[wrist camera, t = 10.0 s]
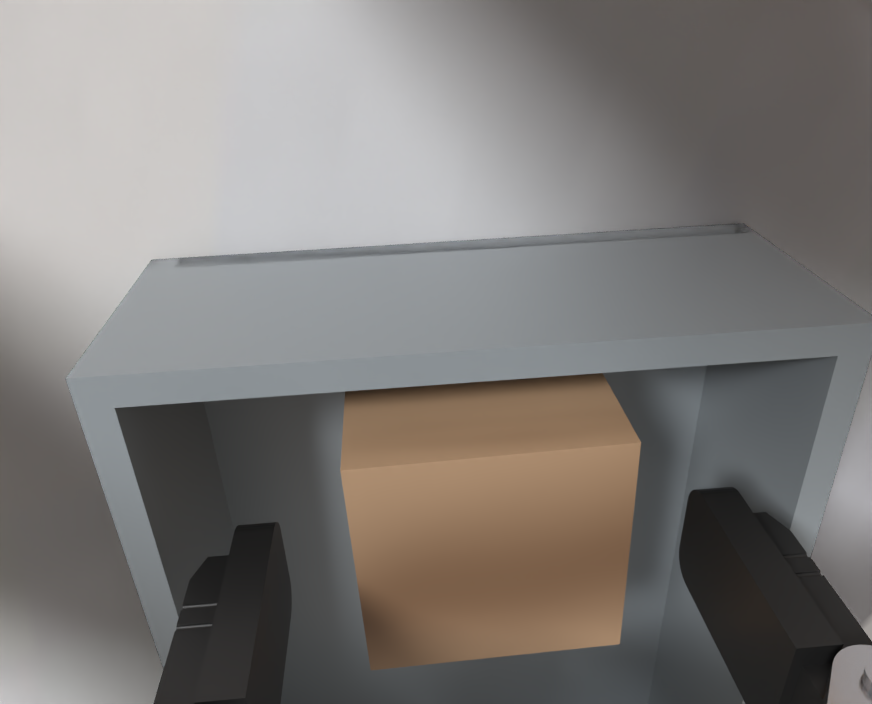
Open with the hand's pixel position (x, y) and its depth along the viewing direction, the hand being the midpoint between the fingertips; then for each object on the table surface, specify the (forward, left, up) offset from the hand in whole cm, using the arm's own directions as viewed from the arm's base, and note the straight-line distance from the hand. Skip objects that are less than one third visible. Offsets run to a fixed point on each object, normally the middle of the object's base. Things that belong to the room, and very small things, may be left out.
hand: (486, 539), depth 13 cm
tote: (0, -5, -5) cm, 7 cm away
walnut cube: (0, 0, -4) cm, 4 cm away
